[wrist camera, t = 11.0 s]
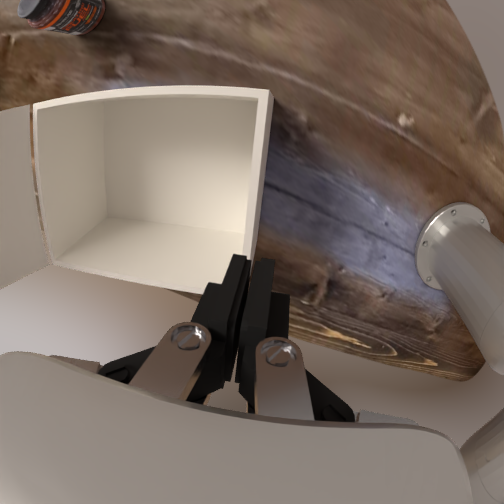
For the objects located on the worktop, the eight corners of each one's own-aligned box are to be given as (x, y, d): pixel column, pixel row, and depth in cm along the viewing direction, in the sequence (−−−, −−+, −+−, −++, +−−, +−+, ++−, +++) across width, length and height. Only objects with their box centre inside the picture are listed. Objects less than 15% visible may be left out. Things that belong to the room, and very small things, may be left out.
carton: (274, 97, 26) (269, 90, 16) (257, 237, 34) (245, 300, 24) (103, 96, 27) (33, 104, 17) (107, 218, 35) (52, 264, 24)
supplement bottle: (89, 41, 24) (26, 32, 14) (64, 29, 22) (4, 22, 12) (115, 2, 21) (58, -21, 11) (88, -8, 20) (31, -26, 10)
